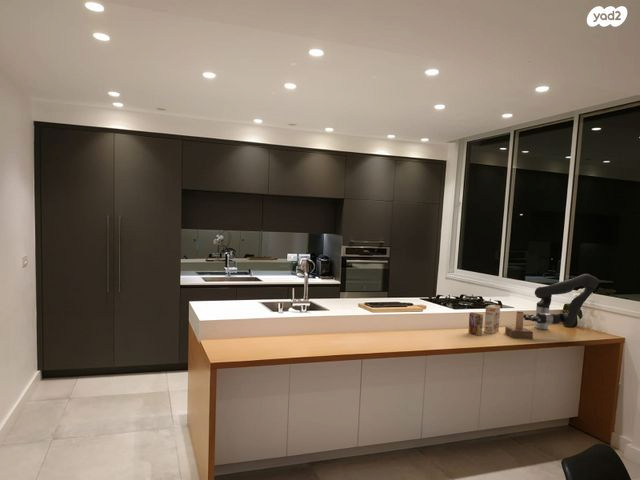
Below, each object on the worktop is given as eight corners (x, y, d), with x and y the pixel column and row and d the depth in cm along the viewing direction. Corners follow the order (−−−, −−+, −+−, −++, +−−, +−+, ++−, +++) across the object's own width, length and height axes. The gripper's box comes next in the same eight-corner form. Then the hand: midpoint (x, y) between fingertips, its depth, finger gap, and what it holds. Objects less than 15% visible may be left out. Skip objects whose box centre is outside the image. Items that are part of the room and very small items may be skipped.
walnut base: (505, 333, 333) (505, 326, 333) (523, 334, 333) (524, 327, 333) (512, 338, 319) (513, 330, 319) (532, 339, 319) (533, 331, 319)
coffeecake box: (493, 334, 328) (495, 308, 328) (483, 332, 332) (485, 306, 332) (499, 331, 340) (500, 305, 339) (489, 329, 344) (491, 304, 344)
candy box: (482, 335, 323) (483, 314, 323) (479, 335, 321) (480, 314, 320) (471, 332, 330) (472, 312, 330) (468, 333, 328) (469, 312, 327)
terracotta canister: (514, 328, 328) (515, 311, 328) (520, 328, 328) (522, 311, 328) (517, 329, 324) (518, 312, 323) (523, 329, 324) (524, 312, 323)
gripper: (540, 311, 333) (518, 310, 333) (549, 315, 318) (526, 314, 319) (539, 321, 333) (517, 320, 333) (548, 325, 319) (526, 324, 319)
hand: (522, 317), depth 326 cm, fingers open, 8 cm apart
